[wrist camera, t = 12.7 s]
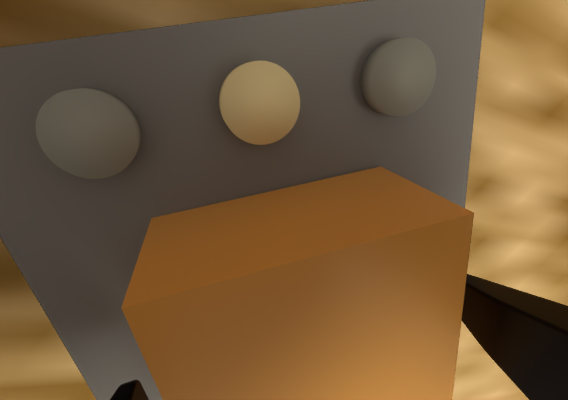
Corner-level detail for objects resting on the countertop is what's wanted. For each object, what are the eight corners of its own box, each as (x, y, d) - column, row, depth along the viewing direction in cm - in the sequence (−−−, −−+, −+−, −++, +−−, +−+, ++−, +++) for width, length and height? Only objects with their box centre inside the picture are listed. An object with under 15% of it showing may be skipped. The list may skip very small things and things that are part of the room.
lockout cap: (210, 386, 11) (214, 515, 8) (151, 218, 9) (121, 307, 5) (383, 330, 13) (449, 421, 9) (380, 166, 10) (473, 212, 6)
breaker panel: (128, 370, 13) (110, 448, 10) (-25, 65, 8) (-133, 59, 6) (417, 277, 16) (465, 321, 13) (426, 4, 11) (505, -21, 8)
